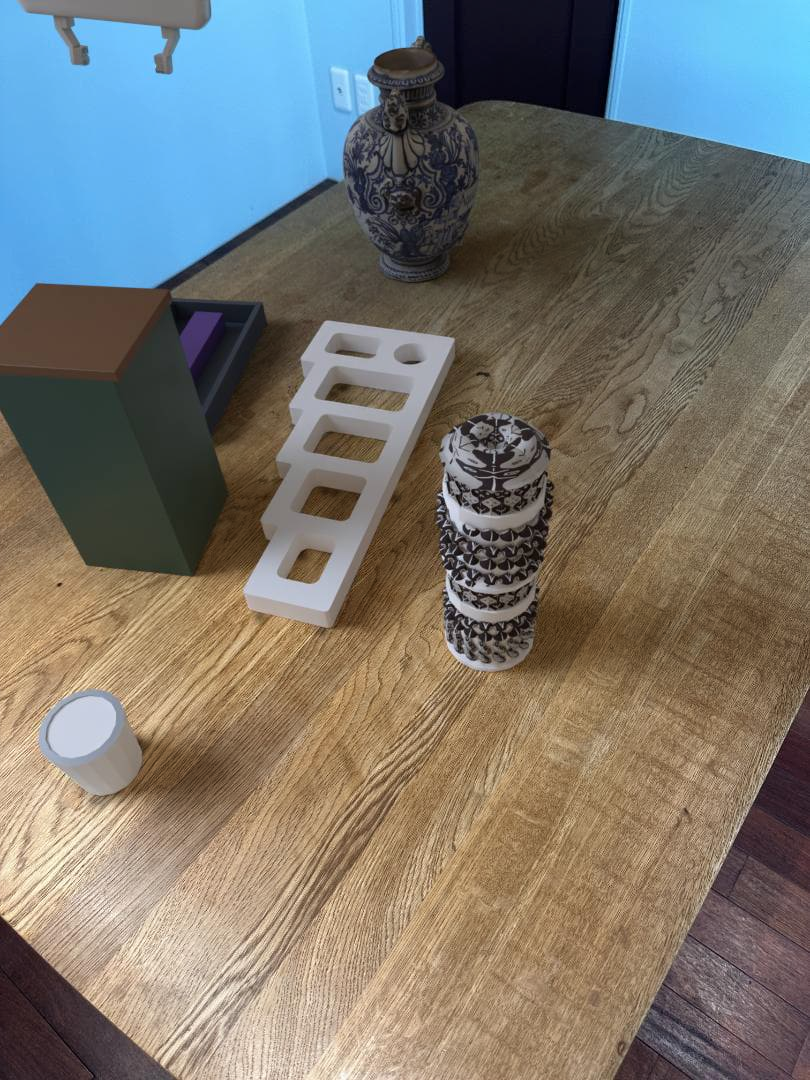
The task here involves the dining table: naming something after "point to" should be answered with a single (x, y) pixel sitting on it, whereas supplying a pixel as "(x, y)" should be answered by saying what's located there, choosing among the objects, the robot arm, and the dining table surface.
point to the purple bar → (201, 339)
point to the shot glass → (91, 742)
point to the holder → (342, 461)
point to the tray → (223, 349)
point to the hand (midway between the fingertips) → (122, 69)
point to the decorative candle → (493, 537)
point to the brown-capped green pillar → (112, 424)
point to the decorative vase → (411, 167)
